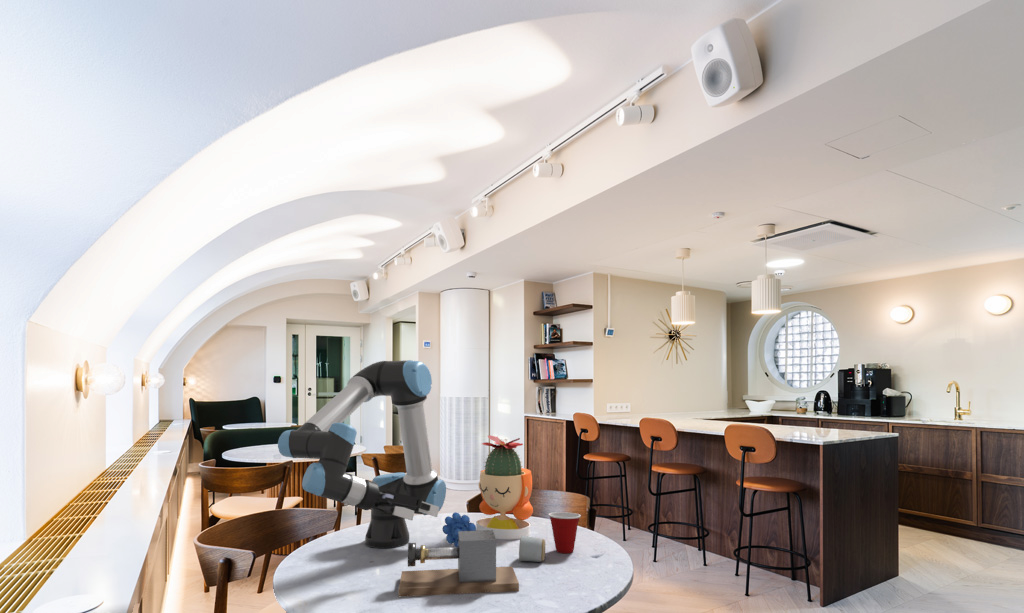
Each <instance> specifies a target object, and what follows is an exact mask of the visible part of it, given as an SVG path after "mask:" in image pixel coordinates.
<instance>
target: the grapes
mask: <svg viewBox="0 0 1024 613" xmlns="http://www.w3.org/2000/svg"><path fill="white" fill-rule="evenodd" d="M470 520H471V519H470V517H469V516H468V515H467V514H463V515H462V516H461V514H460V512H456V511H455V512H453V513H452V515H451V516H449V515H448V516H446V517H445V518H444V523H445V524H444V525H443V526H442V533H444V535H446V537H445V540H446V542H447V543H448V544H450V545H452V544H453V547H458V531H476V524H475V523H474V522H471V521H470Z"/></svg>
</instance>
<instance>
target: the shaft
mask: <svg viewBox="0 0 1024 613" xmlns="http://www.w3.org/2000/svg"><path fill="white" fill-rule="evenodd" d="M407 545H408V546H407V567H409V568H410V567H416V564H417V563H416V562H417V561H419V563H420V564H426V561H432V560H456V559H457V560H458V559H459V547H455V546H452V547H451V546H449V547H446V546H445V547H426V544H425V545H424V544H423V545H422V544H420V548H417V543H416V542H408V543H407Z"/></svg>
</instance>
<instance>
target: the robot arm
mask: <svg viewBox="0 0 1024 613" xmlns="http://www.w3.org/2000/svg"><path fill="white" fill-rule="evenodd" d="M432 385H433V380H432V374H431V372H430V369H429V367H428V366H427V365H426V364H425V363H424V362H422V361H420V360H411V359H409V360H382V361H376V362H373V363H372V364H369V365H368V366H366V367H364V368H363V369H360V370H359V371H358V372H357V373H355V374H354V375H353V376H352V377H351V378H350V379H348V381H347V384H346V386H345V387H344V388H342V389H341V390H340V391H339V392H338V393H337V394H336V395H334V397H333V398H331V399H330V400H329V401H328V402H326V404H324V405H323V406H322V407H321V408H320V409H319V410H318V411H317V412H315V413H314V414H313V415H312V416H311V417H309V419H308V420H306V421H305V422H304V423H303V424H302V425H301V426H299V427H298V428H297V429H289V430H284V431H283V432H282V433H281V434H280V436H279V438H278V441H277V450H278V452H279V454H280V455H281V456H283V457H284V458H285V457H286V458H292V459H309V460H310V459H313V460H318V462H312V463H311V464H309V466H307V468H306V470H305V473H304V474H303V477H302V482H301V487H302V489H303V490H304V491H305V492H307V493H310V494H313V495H315V496H317V497H322V498H324V499H325V498H326V499H328V500H332V501H336V502H337V503H343V506H344V507H348V506H352V507H355V508H358V509H360V510H363V511H370V521H369V523H368V524H369V525H368V527H367V531H366V533H365V538H364V545H366V546H367V547H370V548H376V549H390V548H396V547H402V546H404V545H406V544H407V545H408V543H410V531H409V528H408V526H407V521H406V520H408V521H413V520H414V515H423V516H428V515H429V516H432V517H434V518H438V515H439V512H440V511H441V509H442V508H443V505H444V503H445V500H446V495H447V484H446V482H445V481H444V480H443V479H439V476H438V471H437V470H436V469H434V468H433V467H432V458H431V452H430V451H431V450H430V445H429V438H428V428H427V423H426V414H425V407H424V403H425V401H427V397H428V395H429V394H430V392H431V390H432ZM381 396H385V397H391V404H392V406H394V407H396V409H397V415H398V421H399V428H400V436H401V441H402V447H403V454H404V456H403V457H404V462H405V463H404V464H405V470H406V473H405V472H391V473H385V474H380V475H377V476H375V477H373V478H372V480H369V479H365V478H364V477H360V476H357V475H354V474H351V473H348V472H346V471H347V468H348V464H349V461H350V458H351V455H352V452H353V449H354V446H355V442H356V438H357V429H356V428H355V427H354V426H352V425H351V424H348V423H344V422H345V421H346V420H347V419H348V418H349V417H350V416H351V415H352V414H353V413H354V412H355V411H356V410H357V409H358V408H359V407H361V405H362V404H363V403H367V402H369V401H371V400H372V399H373V398H376V397H381Z"/></svg>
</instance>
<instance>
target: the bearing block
mask: <svg viewBox="0 0 1024 613" xmlns="http://www.w3.org/2000/svg"><path fill="white" fill-rule="evenodd" d="M458 547H459V559H457V569H458V576H459V583H477V582H496V567H497V539H496V538H495V535H494V532H493V530H483V531H458Z"/></svg>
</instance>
